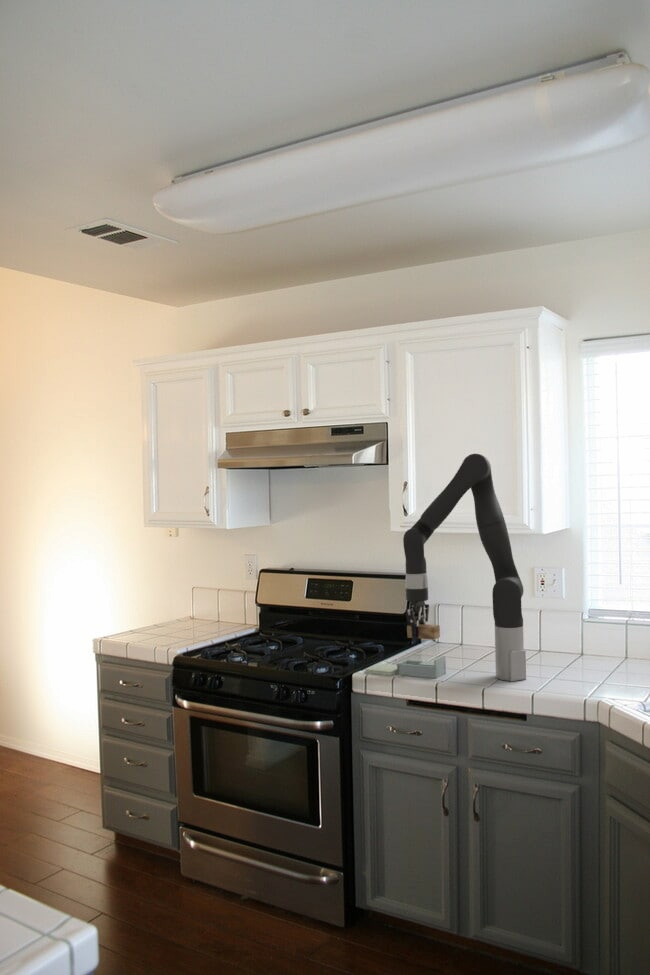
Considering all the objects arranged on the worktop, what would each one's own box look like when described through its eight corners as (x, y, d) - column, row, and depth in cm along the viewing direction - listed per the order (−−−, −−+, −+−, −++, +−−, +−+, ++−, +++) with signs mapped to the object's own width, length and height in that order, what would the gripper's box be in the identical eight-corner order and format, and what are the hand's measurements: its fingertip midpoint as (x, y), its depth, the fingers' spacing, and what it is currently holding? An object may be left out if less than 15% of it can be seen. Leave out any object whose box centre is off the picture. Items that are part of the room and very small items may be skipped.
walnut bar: (439, 637, 283) (439, 625, 283) (434, 639, 279) (434, 627, 279) (413, 635, 289) (412, 623, 289) (407, 637, 285) (406, 625, 285)
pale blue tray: (445, 673, 284) (445, 655, 284) (436, 678, 278) (435, 660, 278) (407, 669, 292) (406, 652, 292) (397, 674, 285) (396, 656, 285)
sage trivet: (404, 669, 292) (404, 666, 292) (391, 675, 283) (391, 671, 283) (378, 666, 297) (378, 663, 297) (365, 672, 289) (365, 669, 289)
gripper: (417, 589, 277) (419, 641, 277) (435, 584, 289) (437, 633, 289) (397, 588, 281) (399, 639, 281) (415, 583, 293) (417, 632, 293)
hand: (418, 636), depth 285 cm, fingers closed on walnut bar, 4 cm apart
